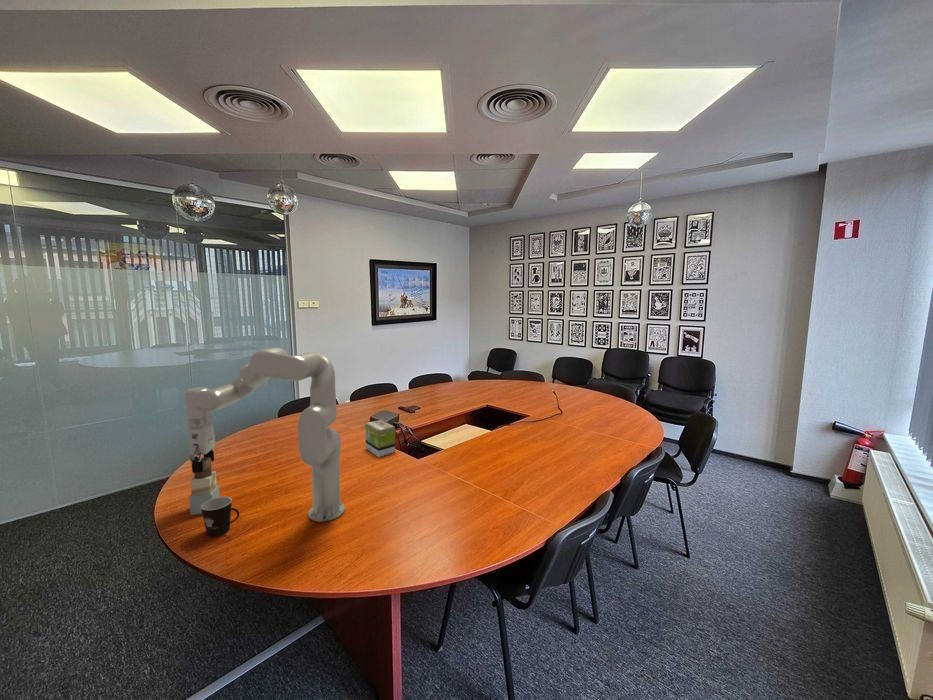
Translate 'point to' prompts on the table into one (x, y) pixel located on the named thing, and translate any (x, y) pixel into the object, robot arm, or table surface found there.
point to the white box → (201, 501)
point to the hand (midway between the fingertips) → (203, 466)
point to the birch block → (203, 485)
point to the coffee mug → (217, 515)
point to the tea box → (380, 437)
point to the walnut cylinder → (205, 469)
